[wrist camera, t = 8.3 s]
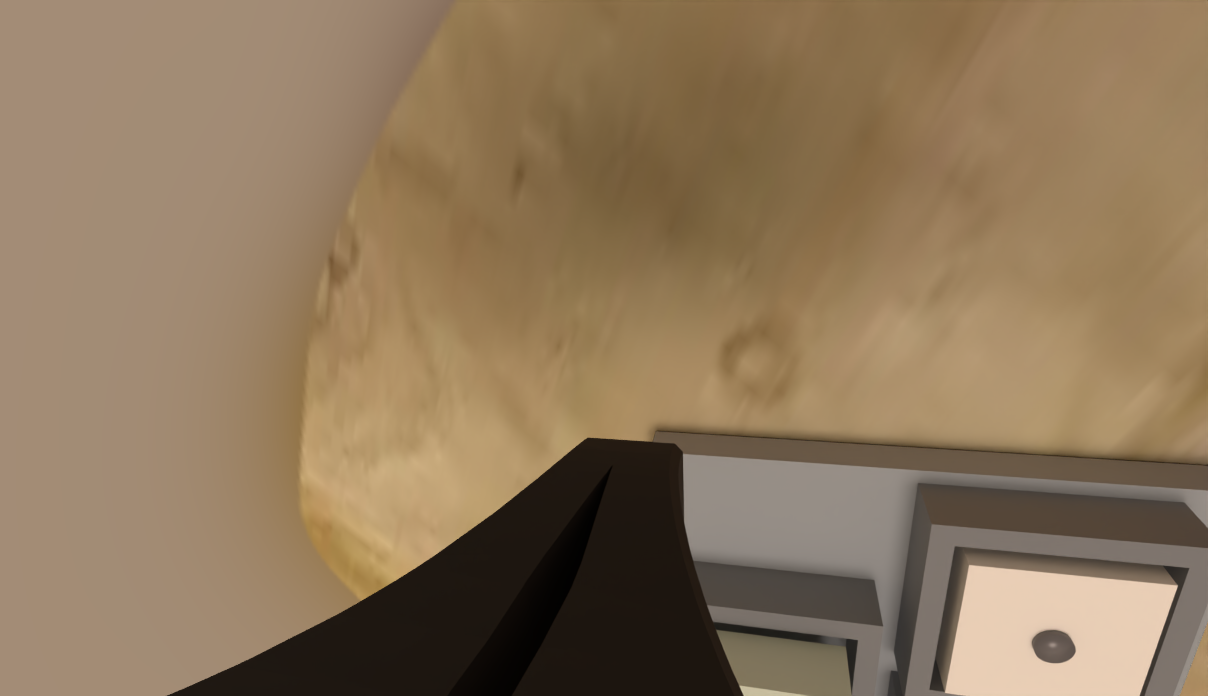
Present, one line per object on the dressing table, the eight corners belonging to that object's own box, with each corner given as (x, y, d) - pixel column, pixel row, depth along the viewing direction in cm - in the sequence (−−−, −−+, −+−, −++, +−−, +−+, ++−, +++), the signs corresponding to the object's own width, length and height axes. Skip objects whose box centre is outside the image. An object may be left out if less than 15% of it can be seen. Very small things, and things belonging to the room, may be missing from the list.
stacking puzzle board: (1226, 466, 17) (1309, 541, 15) (1103, 814, 23) (1147, 915, 20) (655, 431, 21) (638, 486, 18) (667, 740, 26) (655, 818, 24)
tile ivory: (1139, 535, 17) (1182, 591, 15) (1100, 662, 19) (1134, 725, 17) (952, 519, 18) (971, 570, 16) (931, 641, 20) (946, 699, 18)
